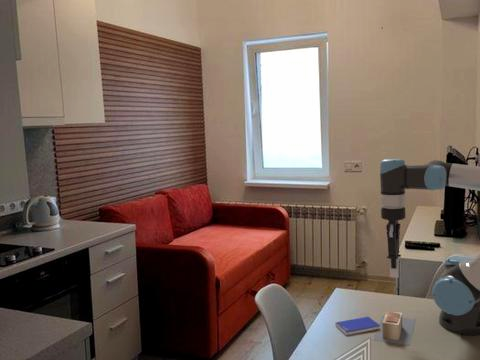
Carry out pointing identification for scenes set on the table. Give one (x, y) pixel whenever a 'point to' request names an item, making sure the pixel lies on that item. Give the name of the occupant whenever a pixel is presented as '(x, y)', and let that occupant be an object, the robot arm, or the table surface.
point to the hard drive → (357, 325)
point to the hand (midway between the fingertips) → (394, 276)
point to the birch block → (392, 325)
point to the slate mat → (404, 336)
